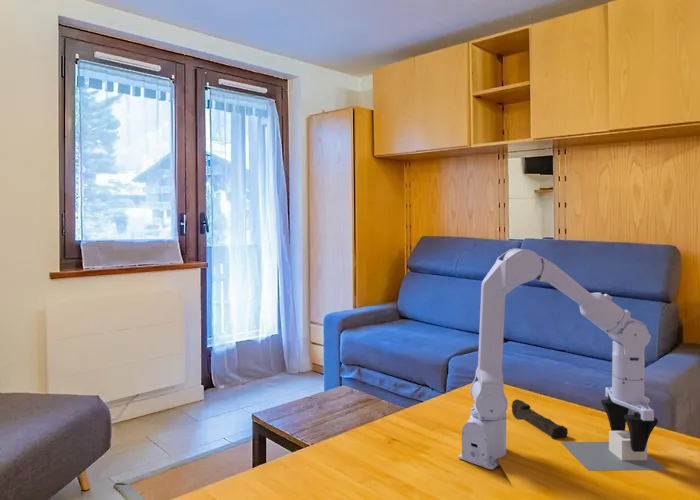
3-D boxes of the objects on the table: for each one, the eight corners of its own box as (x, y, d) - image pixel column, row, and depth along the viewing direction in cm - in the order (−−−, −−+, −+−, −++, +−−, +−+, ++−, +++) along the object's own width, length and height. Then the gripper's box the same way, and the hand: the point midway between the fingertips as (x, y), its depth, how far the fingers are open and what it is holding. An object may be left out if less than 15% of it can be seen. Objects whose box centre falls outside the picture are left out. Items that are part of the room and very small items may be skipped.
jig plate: (588, 476, 97) (588, 454, 97) (560, 447, 110) (560, 428, 110) (667, 475, 97) (667, 453, 96) (630, 446, 110) (630, 427, 109)
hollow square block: (621, 460, 101) (621, 440, 100) (608, 449, 106) (608, 430, 105) (647, 460, 101) (647, 440, 100) (632, 449, 106) (632, 430, 105)
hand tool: (568, 443, 112) (569, 423, 112) (552, 445, 111) (552, 424, 111) (522, 414, 131) (522, 396, 131) (508, 415, 130) (508, 397, 130)
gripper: (670, 387, 95) (669, 458, 96) (628, 366, 110) (628, 428, 110) (632, 387, 95) (632, 458, 96) (595, 367, 110) (595, 429, 110)
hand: (627, 442), depth 103 cm, fingers open, 7 cm apart
